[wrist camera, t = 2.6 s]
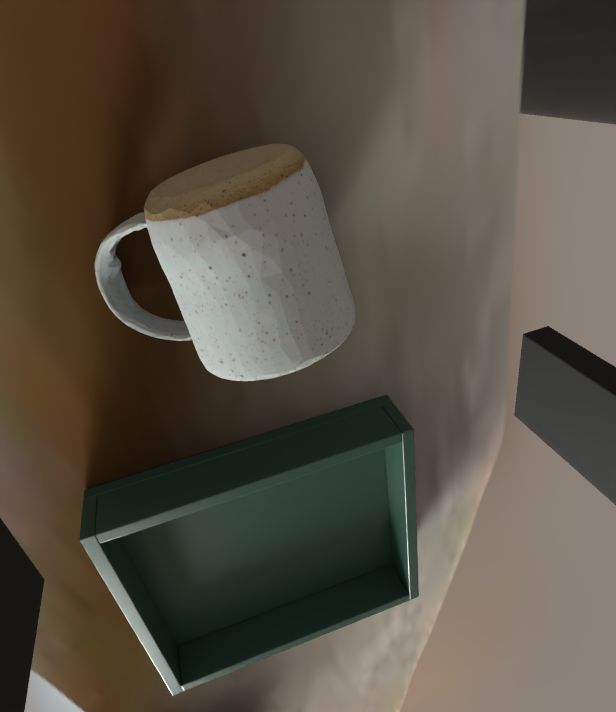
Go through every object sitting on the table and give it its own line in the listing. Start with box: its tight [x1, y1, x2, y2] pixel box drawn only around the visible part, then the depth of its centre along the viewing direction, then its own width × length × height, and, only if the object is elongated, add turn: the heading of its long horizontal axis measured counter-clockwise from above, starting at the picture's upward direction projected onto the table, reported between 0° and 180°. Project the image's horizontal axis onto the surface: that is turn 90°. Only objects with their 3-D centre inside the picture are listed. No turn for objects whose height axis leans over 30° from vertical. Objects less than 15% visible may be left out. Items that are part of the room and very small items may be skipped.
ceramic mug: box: [95, 144, 356, 381], centre depth 21 cm, size 11×8×8 cm
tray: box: [79, 395, 419, 695], centre depth 34 cm, size 20×18×4 cm
